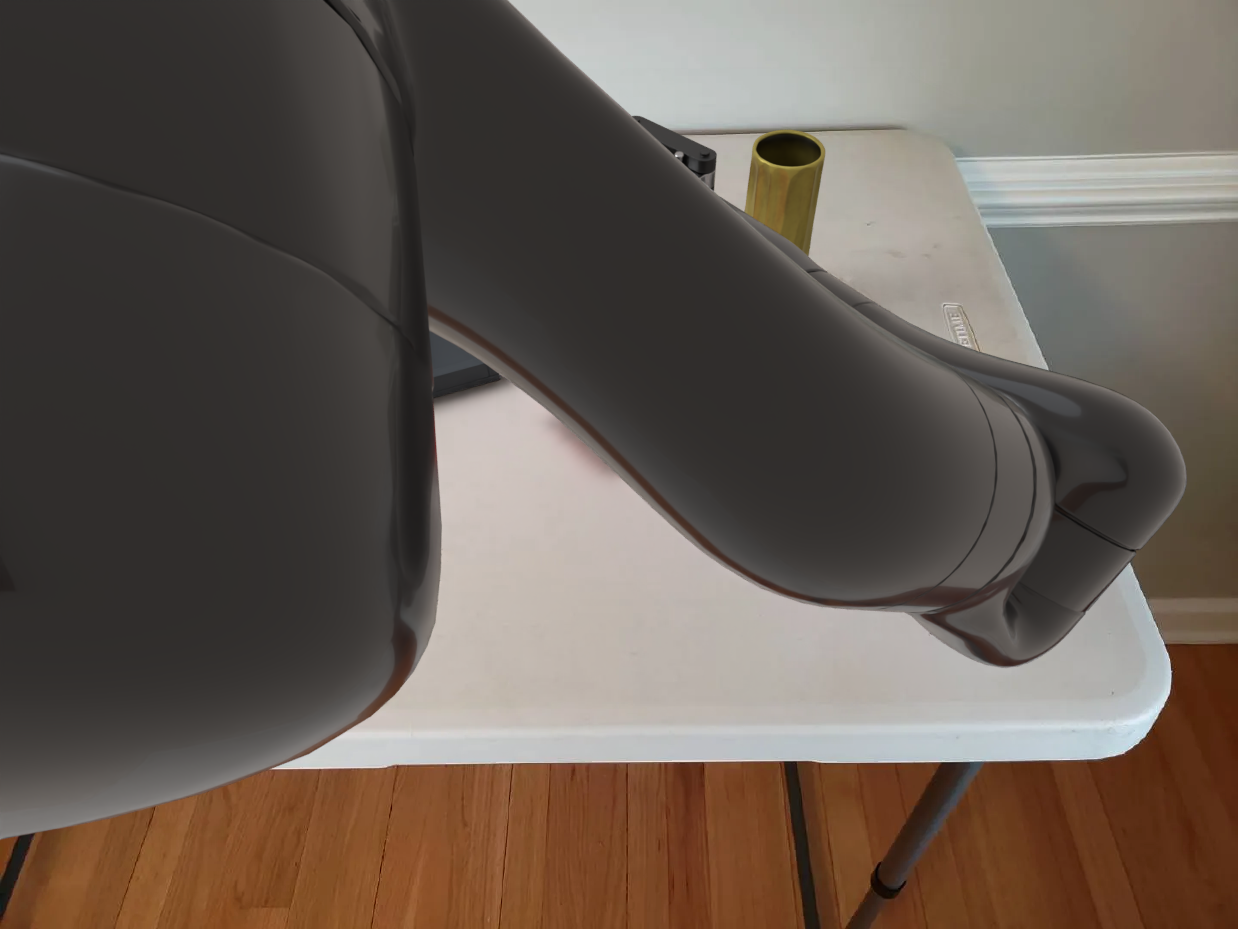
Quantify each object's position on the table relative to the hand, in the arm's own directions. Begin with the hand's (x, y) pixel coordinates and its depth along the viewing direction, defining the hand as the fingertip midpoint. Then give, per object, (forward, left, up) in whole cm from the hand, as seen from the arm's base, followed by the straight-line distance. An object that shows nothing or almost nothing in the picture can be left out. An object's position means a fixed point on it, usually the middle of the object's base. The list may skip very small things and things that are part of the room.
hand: (495, 140), depth 50 cm
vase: (+23, +7, -24) cm, 33 cm away
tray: (-6, +19, -24) cm, 31 cm away
